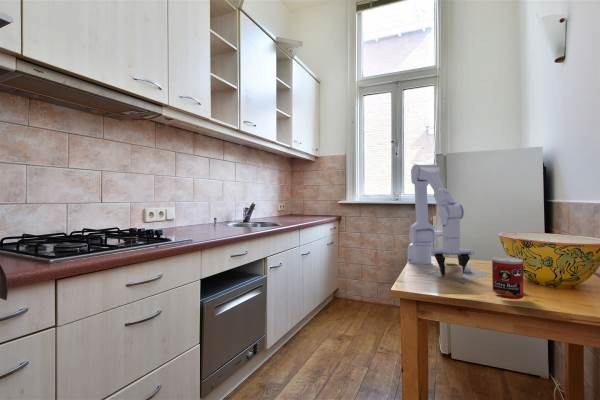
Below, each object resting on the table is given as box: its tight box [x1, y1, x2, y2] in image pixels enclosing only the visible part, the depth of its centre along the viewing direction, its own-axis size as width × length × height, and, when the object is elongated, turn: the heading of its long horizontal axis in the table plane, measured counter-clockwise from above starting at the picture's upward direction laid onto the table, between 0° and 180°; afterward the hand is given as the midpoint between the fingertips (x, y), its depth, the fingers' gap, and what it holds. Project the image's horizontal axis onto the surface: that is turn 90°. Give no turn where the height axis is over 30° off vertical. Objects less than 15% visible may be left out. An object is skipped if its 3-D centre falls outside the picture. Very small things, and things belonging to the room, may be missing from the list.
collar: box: [443, 262, 463, 278], centre depth 108 cm, size 6×6×4 cm
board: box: [426, 268, 491, 283], centre depth 110 cm, size 14×20×1 cm
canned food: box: [491, 256, 524, 300], centre depth 90 cm, size 8×8×11 cm
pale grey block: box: [464, 261, 472, 273], centre depth 113 cm, size 3×3×4 cm
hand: (451, 274), depth 108 cm, fingers closed on collar, 6 cm apart
